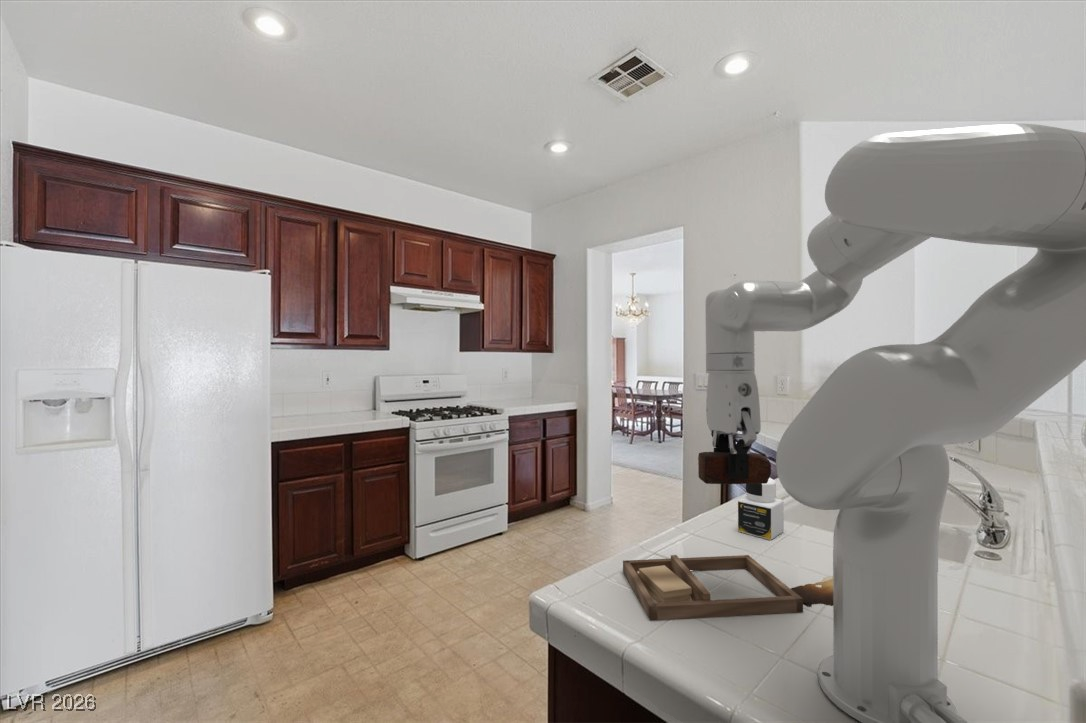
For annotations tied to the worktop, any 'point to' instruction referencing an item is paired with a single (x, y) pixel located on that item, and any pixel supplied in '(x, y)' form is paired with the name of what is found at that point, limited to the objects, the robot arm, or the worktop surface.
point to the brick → (716, 469)
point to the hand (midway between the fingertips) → (730, 473)
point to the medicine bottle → (761, 511)
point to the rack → (701, 596)
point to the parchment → (816, 592)
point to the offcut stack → (664, 584)
